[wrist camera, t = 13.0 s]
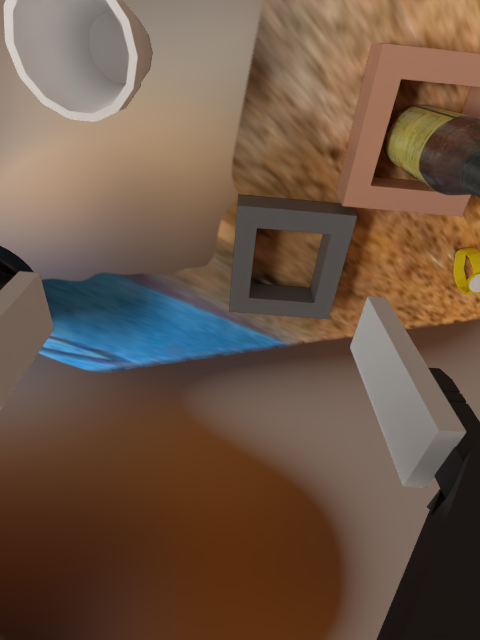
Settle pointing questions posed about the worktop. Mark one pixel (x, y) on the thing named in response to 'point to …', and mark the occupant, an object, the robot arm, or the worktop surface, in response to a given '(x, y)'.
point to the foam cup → (78, 54)
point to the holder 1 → (290, 217)
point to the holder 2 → (374, 116)
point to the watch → (475, 282)
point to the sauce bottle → (436, 148)
